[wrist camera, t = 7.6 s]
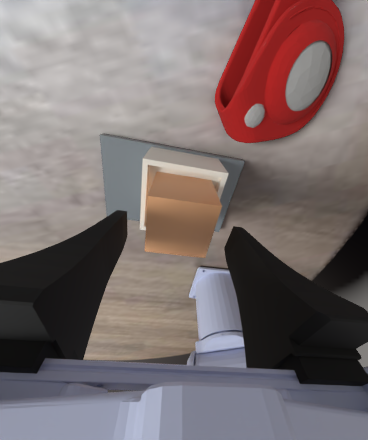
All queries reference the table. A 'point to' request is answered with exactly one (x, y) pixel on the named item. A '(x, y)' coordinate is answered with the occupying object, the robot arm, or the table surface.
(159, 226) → the orange block
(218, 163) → the cream base block
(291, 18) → the tracker holder
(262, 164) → the table surface
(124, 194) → the baseplate
